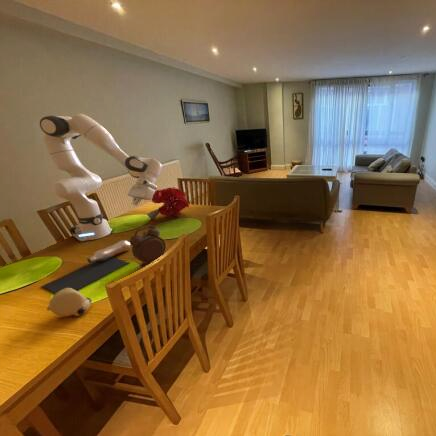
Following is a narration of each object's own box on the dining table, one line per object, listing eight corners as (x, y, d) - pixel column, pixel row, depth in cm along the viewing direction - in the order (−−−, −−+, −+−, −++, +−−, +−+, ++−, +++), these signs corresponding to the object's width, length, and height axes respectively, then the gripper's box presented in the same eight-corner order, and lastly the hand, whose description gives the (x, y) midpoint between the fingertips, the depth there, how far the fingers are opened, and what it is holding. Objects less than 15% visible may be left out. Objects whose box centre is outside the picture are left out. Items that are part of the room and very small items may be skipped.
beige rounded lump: (70, 328, 90) (87, 311, 88) (35, 314, 85) (52, 295, 83) (86, 309, 99) (101, 293, 97) (55, 294, 94) (70, 277, 92)
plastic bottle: (132, 250, 138) (95, 269, 121) (124, 246, 140) (86, 263, 122) (132, 241, 135) (93, 258, 118) (123, 237, 137) (84, 253, 119)
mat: (41, 286, 108) (41, 286, 107) (107, 256, 131) (107, 255, 131) (64, 297, 101) (63, 296, 101) (128, 263, 124) (128, 262, 124)
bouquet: (159, 232, 173) (193, 207, 177) (133, 207, 163) (170, 182, 167) (162, 223, 192) (193, 201, 196) (139, 200, 182) (173, 177, 186)
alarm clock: (161, 253, 133) (152, 220, 125) (169, 256, 130) (161, 223, 122) (134, 266, 122) (123, 231, 114) (142, 270, 118) (131, 234, 110)
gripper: (131, 180, 145) (120, 200, 142) (149, 182, 135) (138, 204, 131) (141, 185, 150) (130, 205, 147) (159, 187, 140) (148, 209, 136)
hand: (134, 204), depth 139 cm, fingers closed
